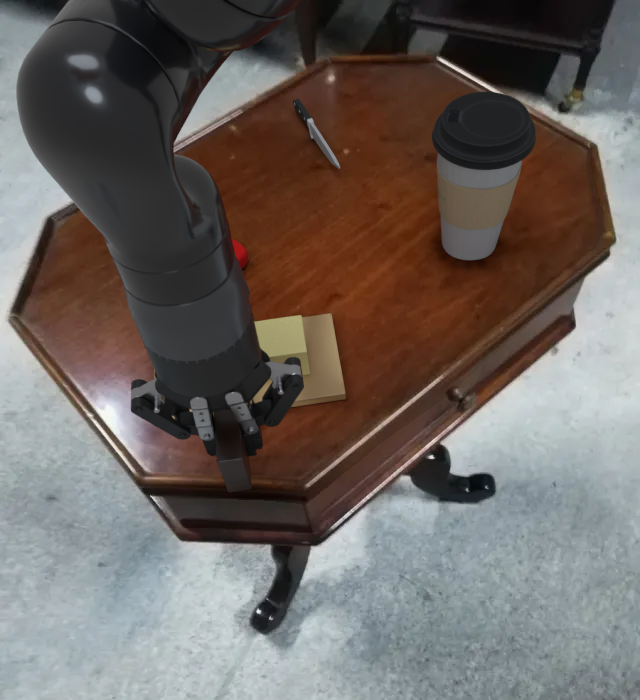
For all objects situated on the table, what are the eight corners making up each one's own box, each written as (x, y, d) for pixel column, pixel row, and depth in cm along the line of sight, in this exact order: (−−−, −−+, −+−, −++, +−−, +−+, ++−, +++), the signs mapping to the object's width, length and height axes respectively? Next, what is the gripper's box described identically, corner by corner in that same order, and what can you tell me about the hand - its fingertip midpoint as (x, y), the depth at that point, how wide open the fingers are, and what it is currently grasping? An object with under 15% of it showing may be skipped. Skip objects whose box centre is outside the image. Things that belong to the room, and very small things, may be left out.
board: (332, 319, 75) (331, 312, 75) (346, 399, 70) (345, 393, 69) (155, 345, 75) (153, 338, 74) (156, 427, 70) (153, 421, 69)
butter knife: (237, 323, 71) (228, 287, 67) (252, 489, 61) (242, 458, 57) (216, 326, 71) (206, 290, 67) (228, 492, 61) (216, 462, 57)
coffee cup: (412, 224, 82) (417, 101, 69) (492, 202, 83) (511, 76, 70) (445, 283, 77) (457, 162, 64) (530, 259, 78) (558, 134, 65)
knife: (343, 178, 87) (342, 164, 85) (337, 180, 87) (336, 166, 85) (299, 110, 94) (297, 95, 93) (293, 111, 94) (292, 97, 93)
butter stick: (304, 338, 73) (301, 314, 70) (310, 374, 71) (307, 351, 68) (246, 346, 73) (240, 323, 70) (249, 383, 71) (243, 360, 68)
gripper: (86, 373, 47) (156, 500, 61) (304, 341, 47) (323, 475, 61) (91, 286, 51) (156, 424, 65) (291, 257, 51) (312, 401, 65)
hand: (237, 448), depth 63 cm, fingers closed on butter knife, 2 cm apart
